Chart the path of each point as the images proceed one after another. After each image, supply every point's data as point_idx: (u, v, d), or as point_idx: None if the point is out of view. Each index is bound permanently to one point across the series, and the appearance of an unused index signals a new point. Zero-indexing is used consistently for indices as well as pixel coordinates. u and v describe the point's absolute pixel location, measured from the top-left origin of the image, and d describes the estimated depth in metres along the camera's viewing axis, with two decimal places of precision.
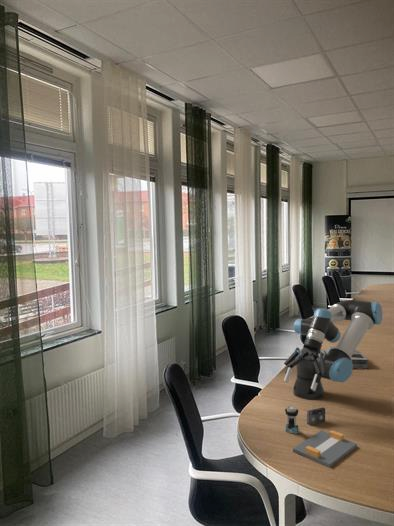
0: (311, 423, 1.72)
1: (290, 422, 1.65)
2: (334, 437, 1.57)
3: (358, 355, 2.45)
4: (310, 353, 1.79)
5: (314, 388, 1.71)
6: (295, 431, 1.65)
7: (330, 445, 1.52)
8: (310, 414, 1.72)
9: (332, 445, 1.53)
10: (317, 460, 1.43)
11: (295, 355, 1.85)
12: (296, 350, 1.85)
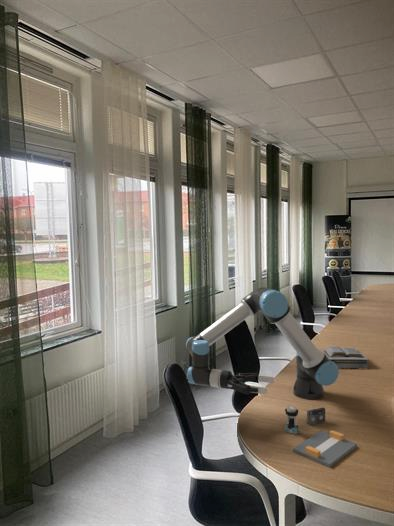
0: (311, 423, 1.72)
1: (290, 422, 1.65)
2: (334, 437, 1.57)
3: (359, 355, 2.45)
4: None
5: (264, 390, 1.62)
6: (295, 431, 1.65)
7: (330, 445, 1.52)
8: (310, 414, 1.72)
9: (332, 445, 1.53)
10: (317, 460, 1.43)
11: None
12: None
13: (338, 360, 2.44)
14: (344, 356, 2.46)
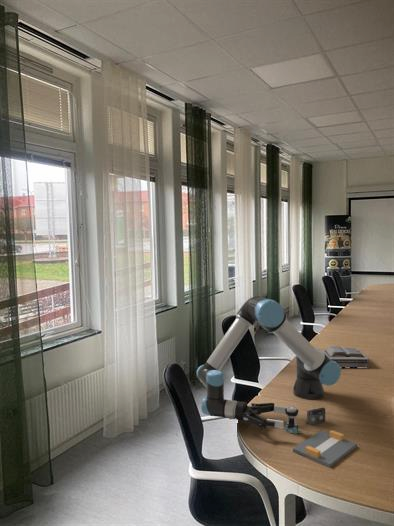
0: (311, 423, 1.72)
1: (290, 422, 1.65)
2: (334, 437, 1.57)
3: (359, 354, 2.46)
4: None
5: (281, 424, 1.60)
6: (295, 431, 1.65)
7: (330, 445, 1.52)
8: (310, 414, 1.72)
9: (332, 445, 1.53)
10: (317, 460, 1.43)
11: None
12: None
13: (339, 360, 2.44)
14: (345, 356, 2.46)
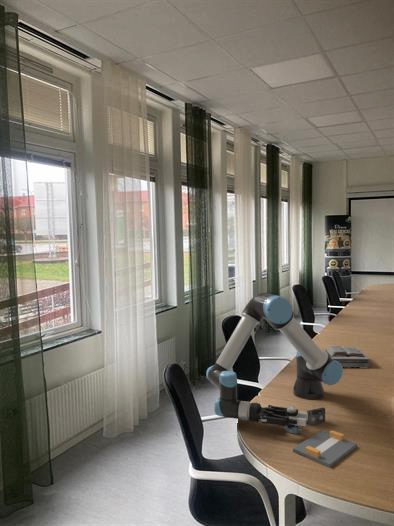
0: (311, 423, 1.72)
1: None
2: (334, 437, 1.57)
3: (360, 354, 2.46)
4: None
5: (303, 422, 1.61)
6: (295, 431, 1.65)
7: (330, 445, 1.52)
8: (310, 414, 1.72)
9: (332, 445, 1.53)
10: (317, 460, 1.43)
11: None
12: None
13: (340, 360, 2.45)
14: (345, 356, 2.47)
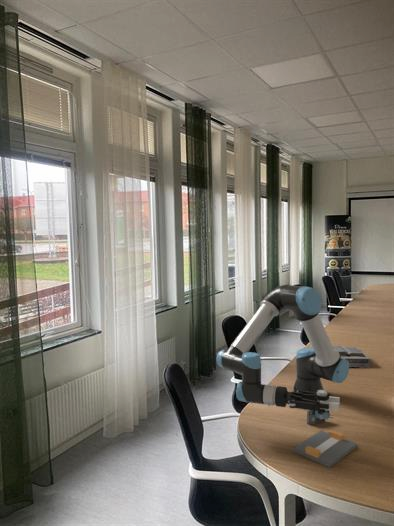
0: (311, 423, 1.72)
1: None
2: (334, 437, 1.57)
3: (361, 354, 2.47)
4: None
5: (336, 406, 1.47)
6: (326, 417, 1.50)
7: (330, 445, 1.52)
8: (310, 414, 1.72)
9: (332, 445, 1.53)
10: (317, 460, 1.43)
11: None
12: None
13: None
14: (346, 355, 2.47)
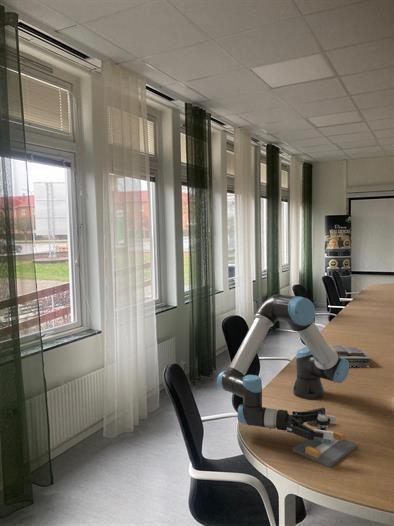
0: (311, 423, 1.72)
1: None
2: (334, 437, 1.57)
3: (361, 354, 2.47)
4: None
5: (331, 435, 1.44)
6: (327, 441, 1.53)
7: (330, 445, 1.52)
8: None
9: (332, 445, 1.53)
10: (317, 460, 1.43)
11: None
12: None
13: None
14: (347, 355, 2.48)
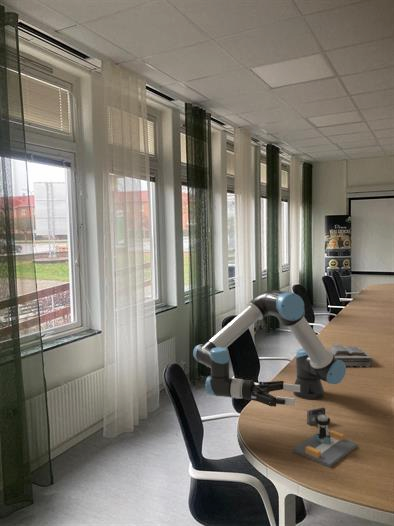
0: (311, 423, 1.72)
1: (321, 432, 1.54)
2: (334, 437, 1.57)
3: (362, 353, 2.48)
4: None
5: (292, 401, 1.48)
6: (327, 441, 1.53)
7: (330, 445, 1.52)
8: (310, 414, 1.72)
9: (332, 445, 1.53)
10: (317, 460, 1.43)
11: None
12: None
13: (342, 359, 2.46)
14: (347, 355, 2.48)
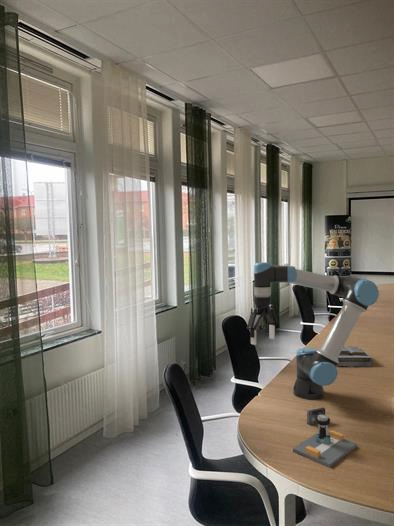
0: (311, 423, 1.72)
1: (321, 432, 1.54)
2: (334, 437, 1.57)
3: (363, 353, 2.49)
4: None
5: (253, 342, 1.83)
6: (327, 441, 1.53)
7: (330, 445, 1.52)
8: (310, 414, 1.72)
9: (332, 445, 1.53)
10: (317, 460, 1.43)
11: (270, 312, 1.92)
12: None
13: (343, 359, 2.47)
14: (348, 354, 2.49)
